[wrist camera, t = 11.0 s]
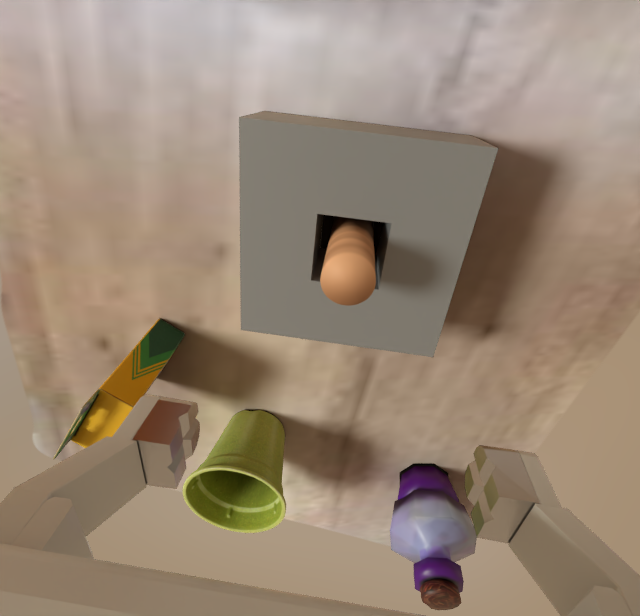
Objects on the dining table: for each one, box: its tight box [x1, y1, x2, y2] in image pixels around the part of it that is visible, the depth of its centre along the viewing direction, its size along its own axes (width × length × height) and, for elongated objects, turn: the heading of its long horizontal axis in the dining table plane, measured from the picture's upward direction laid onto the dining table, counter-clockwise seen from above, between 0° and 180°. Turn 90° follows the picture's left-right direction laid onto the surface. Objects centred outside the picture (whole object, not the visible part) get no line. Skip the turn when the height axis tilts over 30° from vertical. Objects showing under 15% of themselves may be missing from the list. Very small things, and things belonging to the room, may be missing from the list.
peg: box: [320, 216, 376, 306], centre depth 25 cm, size 3×3×10 cm
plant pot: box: [183, 410, 286, 533], centre depth 38 cm, size 9×9×9 cm
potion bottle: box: [390, 464, 477, 610], centre depth 38 cm, size 9×9×12 cm
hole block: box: [239, 111, 498, 357], centre depth 27 cm, size 14×14×6 cm
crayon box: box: [53, 319, 185, 459], centre depth 33 cm, size 7×3×12 cm, turn 143°
